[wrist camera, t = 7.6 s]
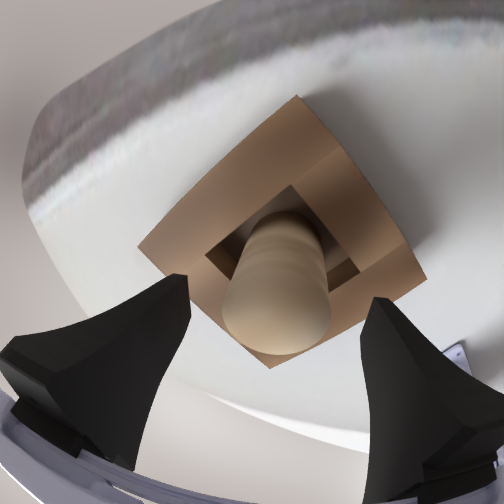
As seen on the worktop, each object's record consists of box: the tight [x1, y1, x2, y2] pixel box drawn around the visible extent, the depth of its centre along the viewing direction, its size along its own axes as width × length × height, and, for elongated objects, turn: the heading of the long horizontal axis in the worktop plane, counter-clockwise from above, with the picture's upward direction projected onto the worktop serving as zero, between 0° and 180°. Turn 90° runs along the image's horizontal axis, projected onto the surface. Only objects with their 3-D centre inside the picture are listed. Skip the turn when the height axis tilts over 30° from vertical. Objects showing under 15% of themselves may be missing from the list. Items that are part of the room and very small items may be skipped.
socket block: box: [137, 95, 427, 369], centre depth 15 cm, size 11×11×3 cm
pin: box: [222, 211, 331, 355], centre depth 13 cm, size 4×4×6 cm
